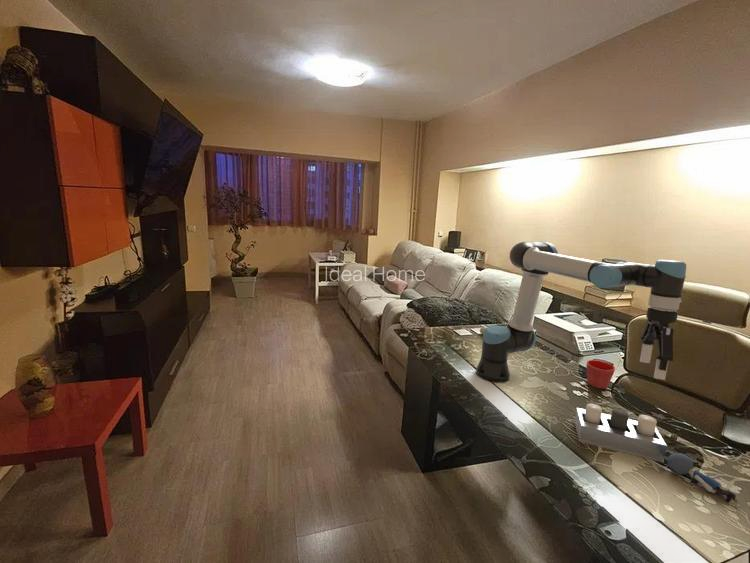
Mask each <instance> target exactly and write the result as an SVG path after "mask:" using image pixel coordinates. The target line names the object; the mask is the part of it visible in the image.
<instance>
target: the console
mask: <svg viewBox="0 0 750 563" xmlns="http://www.w3.org/2000/svg"><path fill="white" fill-rule="evenodd" d="M585 411H586V408H585V409H584V408H580V407H576V410H575V417H574V425H575V430H576V433H577V435H576V436H577V439H578V442H580V443H584V444H587V445H591V446H597V447H600V448H603V449H608V450H611V451H614V452H615V451H616V452H620V453H624V454H627V455H630V456H631V455H632V456H636V457H641V458H643V459H646V460H651V461H655V462H659V463H662V464H664V463H665V459H664V458H663V457H664V456H666V453H667V449H668V445H667V443H666V442H665V440H664V438H663V436H662V434H661V433H660V432H659V430H658V428H657V427H656V428H655V433H654V438H652V437H648V436H644V435H639V434H637V433H636V429H637V424H638V420H635V419H630V418H628V422H627V428H626V431H622V430H618V429H614V428H610V427H609V425H610V419H611V414H607V413H603V412H602V414H601V420H600V425H596V424H592V423H588V422H584V417H585Z"/></svg>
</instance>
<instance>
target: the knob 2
mask: <svg viewBox="0 0 750 563" xmlns="http://www.w3.org/2000/svg"><path fill="white" fill-rule="evenodd" d="M637 419H638V420H637V421H638V424H637V429H636V433H637V434H639V435H644V436H648V437H652V438H654V433H655V428H657V423H658V421H657V419H656V418H655V417H652V416H650V415H647V414H639V415H638V418H637Z"/></svg>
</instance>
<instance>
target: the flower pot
mask: <svg viewBox="0 0 750 563" xmlns="http://www.w3.org/2000/svg"><path fill="white" fill-rule="evenodd" d="M615 371H616V368H615V366H614V365H612V364H611V363H608V362H605V361H602V360H599V359H597V360H596V359H592V360H591V359H590V360H587V361H586V375H587V376H586V377H587V379H586V380H587V383H588V384H589V385H590V386H592V387H594V388H598V389H608V387H609V385H610V382H611V380H612V378H613V376H614V374H615Z"/></svg>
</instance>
